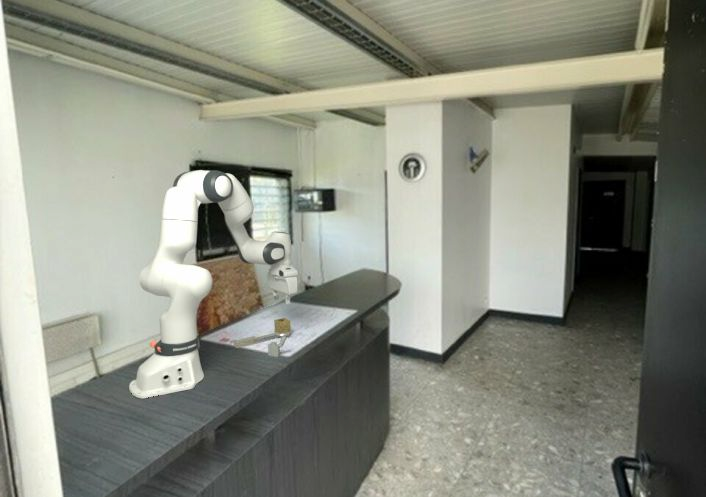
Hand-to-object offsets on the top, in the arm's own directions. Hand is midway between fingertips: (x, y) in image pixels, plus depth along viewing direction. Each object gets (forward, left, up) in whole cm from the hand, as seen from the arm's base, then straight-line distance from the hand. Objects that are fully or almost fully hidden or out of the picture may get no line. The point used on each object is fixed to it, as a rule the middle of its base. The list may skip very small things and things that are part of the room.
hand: (281, 301), depth 184 cm
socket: (0, 0, -13) cm, 13 cm away
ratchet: (-9, 0, -15) cm, 18 cm away
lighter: (-13, -19, -16) cm, 27 cm away
